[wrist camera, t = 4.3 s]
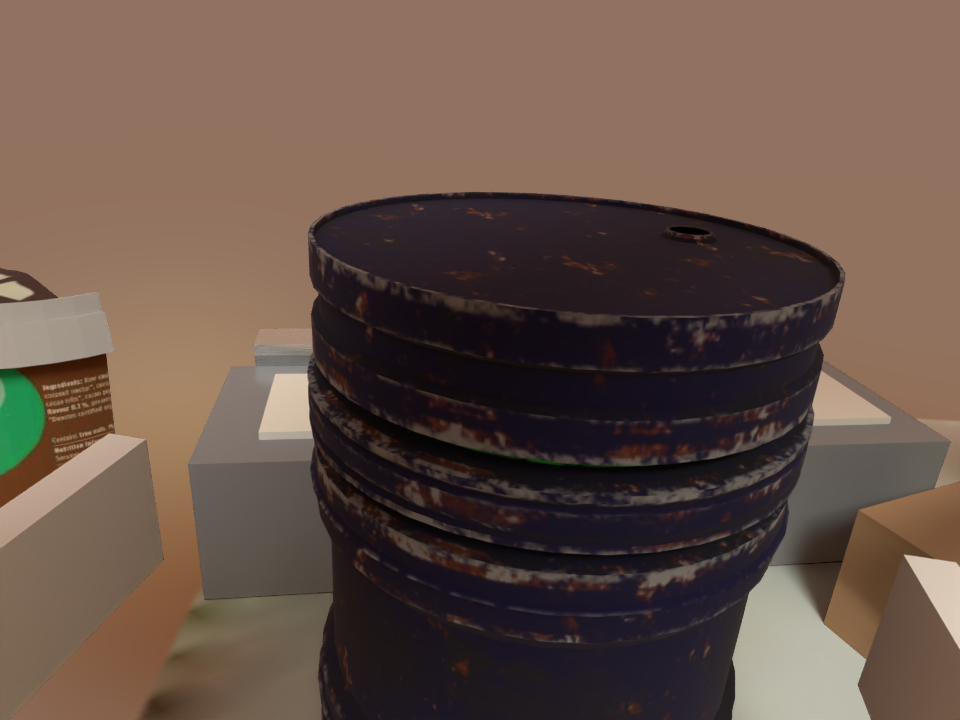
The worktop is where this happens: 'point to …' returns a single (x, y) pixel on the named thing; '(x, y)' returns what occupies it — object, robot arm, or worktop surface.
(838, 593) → the walnut block
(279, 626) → the worktop surface
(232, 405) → the block
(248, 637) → the worktop surface
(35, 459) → the food container
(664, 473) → the rusty oil drum
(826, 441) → the module block
